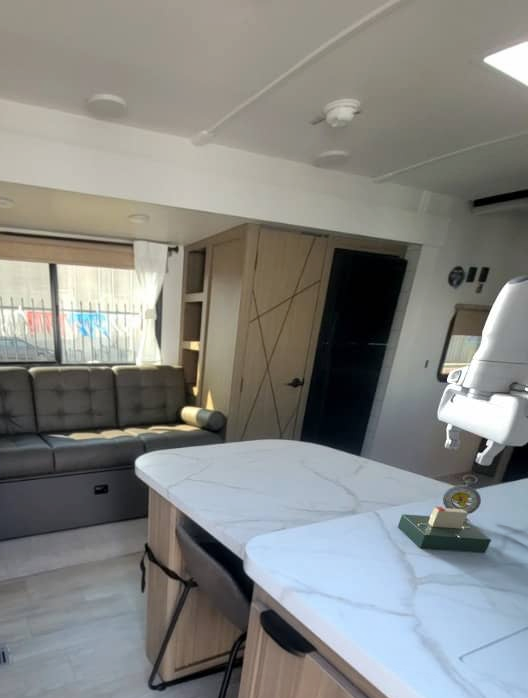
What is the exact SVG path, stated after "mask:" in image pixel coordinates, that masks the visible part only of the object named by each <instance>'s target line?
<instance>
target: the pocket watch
mask: <svg viewBox="0 0 528 698" xmlns="http://www.w3.org/2000/svg"><path fill="white" fill-rule="evenodd" d="M466 477H472V478H474V479H475V481H472V479H470V478H469V479H468V480H466V479H465V478H466ZM462 480H463V481H464V482H465V484H466V485H464V484H463V485H462V484H461V485H460V484H459V485H455V486H453V487H450V488H448V489H447V490H446V491H445V493H444V494H443V497H442V503H443V506H444V508H449V509H463V510H464V511H466V512H467V513H468V514H467V515H469V514H470V515H471V514H473V513H474V512H476V511H477V510H478V509H479V508H480V505H481V502H482V497H481V494H480V493H479V492H478V491H477V490H476V488H473V487H472V486H470V485H473V484H476V483H478V481H479V478H478V477H477V476H475V475H472V474H467V475H464V476H463V477H462ZM457 505H458V506H457ZM465 521H466V522H467V523H469V524H470V525H471V520H470V519H469V518H468V517H466V519H465Z"/></svg>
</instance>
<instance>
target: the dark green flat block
mask: <svg viewBox="0 0 528 698" xmlns="http://www.w3.org/2000/svg"><path fill="white" fill-rule="evenodd" d="M430 517H431V514H430V515H420V514H419V515H417V514H406V513H405V514H404V513H403V514H401V516H400V519H399V522H398V525H397V528H398V529H399V530H400V531H401V532H402V533H403V534H405V535H406V537H407V538H408V539H409V540H411V541H412V543H414V544H415V545H416V547H418V548H419V549H426V550H436V551H437V550H439V551H450V552H451V551H452V552H465V553H477V554H478V553H479V554H486V552H487V550H488V548H489V546H490V544H491V541H492V538H490V537H488V536H487V535H486V534H484V533H482V532H481V531H480V530H478V529H477V528H476V527H474V526H473V525H472V524H471V523H470V524H469V523H467V522H466V521H464V523H463V526H462V528H461V529H458V528H444V527H432V526H431V525H430V524H429V523H428V522H429V519H430Z"/></svg>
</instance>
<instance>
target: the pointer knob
mask: <svg viewBox="0 0 528 698" xmlns="http://www.w3.org/2000/svg"><path fill="white" fill-rule="evenodd" d="M430 515H431V517H430V519H429V522H428V523H429V524H430V525H431V526H432V527H444V528H458V529H461V528H462V526H463V523H464V521H465V519H466V518H468V517H467V516H468V515H469V514H468V513H467V512H466V511H464V510H463V509H449V508H446V507H442V506H435V507H433V509H432V512H431V514H430Z"/></svg>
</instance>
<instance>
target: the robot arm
mask: <svg viewBox="0 0 528 698" xmlns="http://www.w3.org/2000/svg"><path fill="white" fill-rule="evenodd" d="M480 341H481V342H480V344H479V347H478V349H477V350H476V351H475V353H474V355H473V356H472V359H471V361H470V364H468V365H465V366H463V367H460V368H457V369H454V370H451V371H450V372H449V374H448V376H447V380H446V381H447V383H449V384H447V386H446V387H445V389H444V391H443V393H442V397H441V398H440V402H439V406H438V409H437V419H438V420H439V421H441V422H444V423H446V424H447V427H446V441H445V443H444V448H446V449H448V450H450V451H451V450H453V451H457V450H458V449H459V447H460V445H461V443H462V441H461V440H460V432H462V431H466V432H469V433H471V434H474V435H476V436H479V437H481V438H485V439H486V440H487V441H486V444H485V445H486V446H487V447H486V448H485V449H484V450H483V452H478V453H477V455H476V458H475V460H474V461H475V463H477V464H479V465H481V466H490V465H492V463H493V460H494V458H495V457H496V456H497V455H498V454H499V453H501V452H502V451H503V450H504V449H505V448H506V446H510V447H523V446H525V445H527V443H528V274H527V273H526V274H522V275H519V276H515V277H514V278H512V279H510V280H509V281H507V282H506V283H505V285H504V286H503V287H502V289H501V290H500V291H499V293H498V295H497V297H496V298H495V301H494V303H493V304H492V307H491V309H490V311H489V314H488V316H487V319H486V321H485V324H484V327H483V329H482V332H481V340H480Z"/></svg>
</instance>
